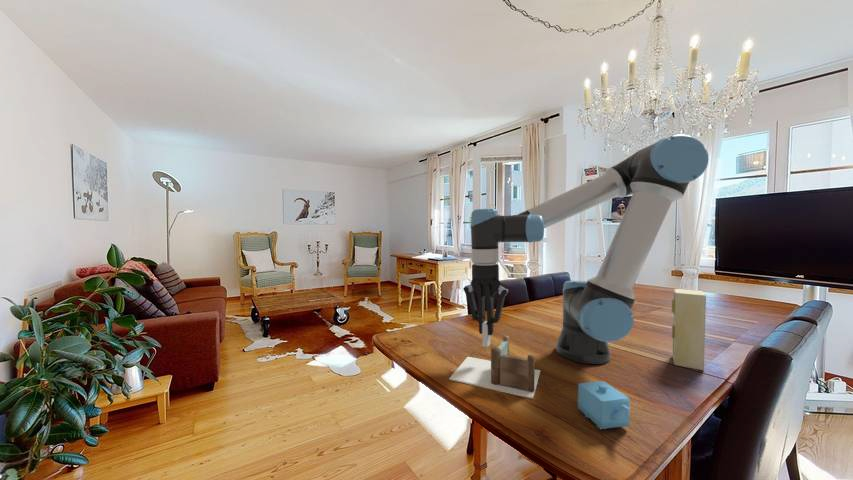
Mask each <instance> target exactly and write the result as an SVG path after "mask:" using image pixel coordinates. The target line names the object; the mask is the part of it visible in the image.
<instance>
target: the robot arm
mask: <svg viewBox="0 0 853 480" xmlns="http://www.w3.org/2000/svg"><path fill="white" fill-rule="evenodd" d="M708 165H709V153H708V150H707V149H706V148H705V146H704V144H703V143H702V141H700V140H699V139H698V138H696V137H693V136H691V135H687V134H674V135H671V136H667V137H663V138H660V139H659V140H657V141H655V143H653V144H650V145H648V146H646V147H644V148H641V149H639V150H638V151H636V152H635V153H633V154H631V155H630V156H629V157H627V158H625V159H624V160H622V161H620V162H618V163H617V164H615V165H613V166H611V167H610V168H607V169H606V171H605V173H603V174H601V175H599V176H598V177H595V178H593V179H591V180H588V181H587V182H585V183H582V184H580V185H577V187H574V188H572V189H569V190H567V191H565V192H563V193H560V194H559V195H556V196H554V197H552V198H550V199H547V200H545V201H544V202H542V203H539V204H538V205H535V206H532V207H531V208H528V209H527V210H524V211H522V212H520V213H518V214H514V215H499V211H498V209H497V208H476V209H474V210H472V212H471V213H470V214H471V215H470V236H471V237H470V238H471V239H470V240H471V241H470V242H471V262H472V263H473V264H472V265H471V281H470V284H468V285H466V286H464V287H463V288H462V289H463V291H464V293H465V295H466V298H467V302H468V305H469V310H470V315H471V319H472V321H477V322H478V332H479V334H481V335H482V336H481V339H482V340H481V342H482V347H484V348H489V347H490V345H491V336H493V334H494V324H496V323H498V322H499V321H500V320H501V317H502V316H501V315H502V312H503V308H504V303H505V298H506V296H507V295H508V293H509V291H510V290H509V288H505V287H504V286H502V283H501V281H500V267H499V266H500V265H499V264H498V263H499V259H500V258H499V243H537V242H541V241H543V238H544V234H545V229H547V228H548V227H551V226H553V225H556V224H558V223H560V222H562V221H564V220H567V219H569V218H571V217H573V216H576V215H578V214H580V213H582V212H585V211H587V210H589V209H592V208H594V207H596V206H598V205H601V204H603V203H605V202H608V201H609V200H612V199H614V198H616V197H618V198H621V199H622V198H625V197H628V196H630V195H631V197H630V199H629V201H628V202H629V203H628V204H627V207H626V209H625V211H624V212H623V215H622V218H621V220H620V222H619V225H618V226H617V229H616V231H615V234H614V236H613V238H612V241H611V242H610V245H609V247H608V250H607V251H606V254H605V256H604V259H603V260H602V263H601V265H600V268H599V270H598V272H597V275H596V276H594V277H592V278H591V277H590V278H588V280H566V281H565V282H564V283H563V288H562V327H561V331H560V334H559V335H558V338H557V341H556V345H555V346H556V349H555V350H556V352H557V354H558V355H559V356H561V358H564V359H567V360H569V361H572V362H577V363H580V364H588V365H601V364H608V362H610V361H611V349H610V346H609V343H612V342H613V343H614V342H616V341H620V340H622V339H624V338H625V337H626V336H628V335H629V334H630V332H631V331H632V330H633V327H634V321H635V319H634V314H633V312H632V307H633V306H634V303H635V301H636V295H635V294H634V292H633V288H634V286H635V284H636V282H637V279H638V277H639V275H640V272H641V271H642V269H643V267H644V265H645V262H646V260H647V258H648V255H649V253H650V252H651V249H652V247H653V245H654V242H655V240H656V238H657V236H658V233H659V232H660V229H661V227H662V225H663V223H664V221H665V218H666V216H667V213H668V212H669V210H670V207H671V205H672V203H674V202H675V201H677V200H680V199H682V198H683V197H684V195H685V193H686V191H687V189H688V186H689V184H690V183H691V182H693V181H696V180H697V179H698V178H699V177H701V176H702V175H703V174H704V173H705V171H706V170H707V167H708ZM474 291H475V293H476V296H477V298H476V299H477V301H476V299H475V294H474ZM497 291H498V294H499V296H498V298H497V304H496V307H494V298H495V294H496V293H497ZM485 301H486V302H485ZM476 302H477V303H476ZM494 309H495V311H494Z"/></svg>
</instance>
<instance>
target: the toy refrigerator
mask: <svg viewBox="0 0 853 480" xmlns="http://www.w3.org/2000/svg"><path fill="white" fill-rule="evenodd" d="M706 304H707V295H706V294H705V293H704V291H702V290H696V289H695V290H694V289H684V288H674V289H673V298H672V299H671V313H673V314H672V315H673V317H672V318H673V319H672V320H673V321H672V323H673V324H672V325H671V339H672V360H673V361H672V362H673V364H674V366H678V367H683V368H687V369H693V370H700V371H705V354H706V353H705V352H706V351H705V345H706V316H707V315H706V308H707V305H706Z"/></svg>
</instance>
